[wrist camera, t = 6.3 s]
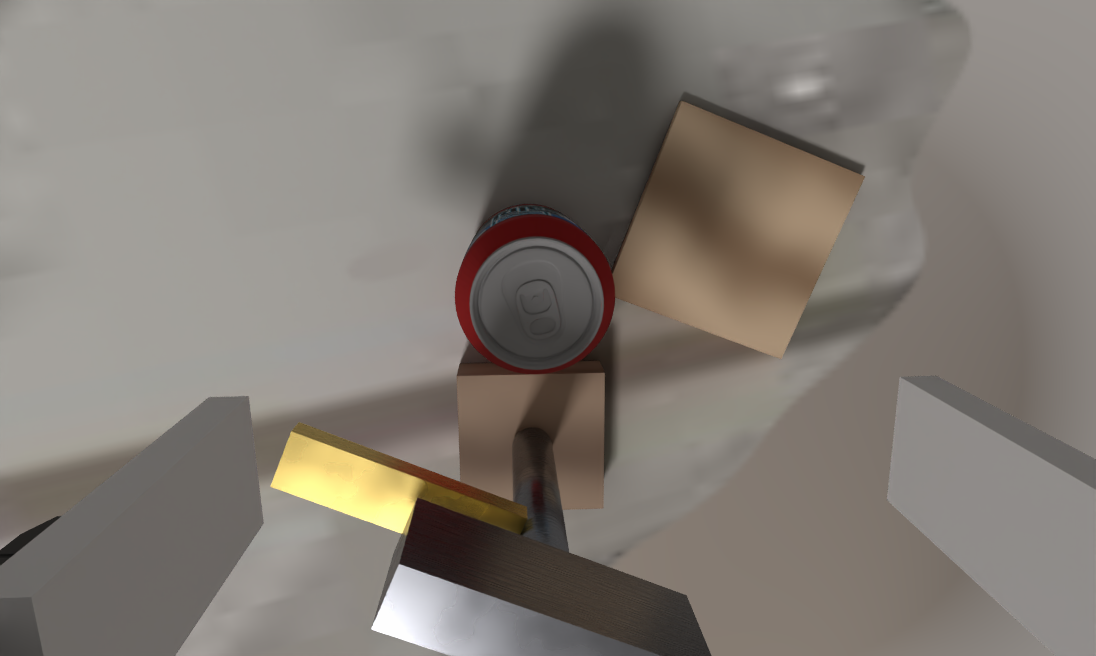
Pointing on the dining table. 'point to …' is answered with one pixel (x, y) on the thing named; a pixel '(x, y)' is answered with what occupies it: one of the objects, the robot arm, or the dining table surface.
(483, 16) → the dining table surface
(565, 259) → the beverage can
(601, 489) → the latch housing
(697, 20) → the dining table surface
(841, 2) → the dining table surface
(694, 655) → the t key
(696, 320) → the mat
